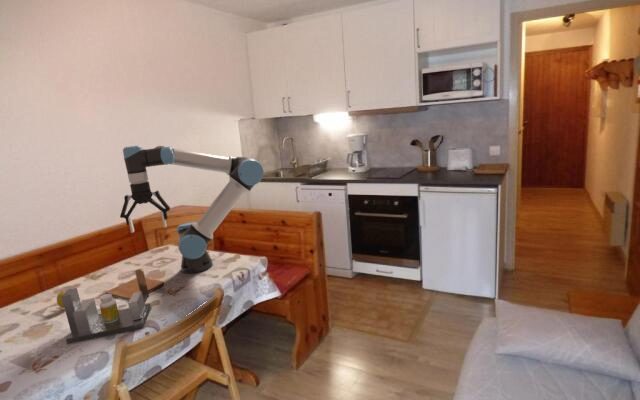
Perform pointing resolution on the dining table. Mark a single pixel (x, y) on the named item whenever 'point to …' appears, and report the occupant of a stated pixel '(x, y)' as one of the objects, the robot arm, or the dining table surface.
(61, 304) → the lemon
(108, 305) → the supplement bottle
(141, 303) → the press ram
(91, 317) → the grey frame
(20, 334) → the dining table surface
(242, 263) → the dining table surface
